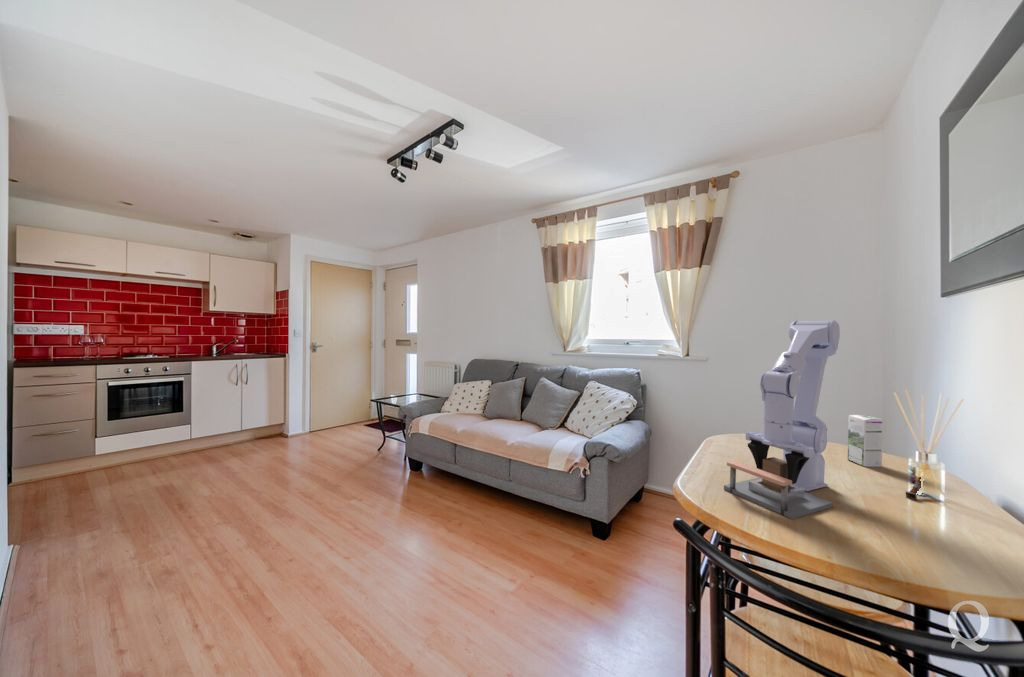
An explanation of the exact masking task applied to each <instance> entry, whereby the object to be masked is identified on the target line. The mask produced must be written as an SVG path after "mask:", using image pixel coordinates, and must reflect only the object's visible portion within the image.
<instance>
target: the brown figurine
mask: <svg viewBox="0 0 1024 677" xmlns="http://www.w3.org/2000/svg"><path fill="white" fill-rule="evenodd" d="M920 479H921V476H920V477H919V476H918V478H917V479H916V482H914V484H913V486H912V488H911V489H910V490H909V491H907V490H906V491H905V498H908V499H911V500H914V501H918V496H917V495H916V493H917V491H919V489H920V488H921V481H920Z"/></svg>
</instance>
